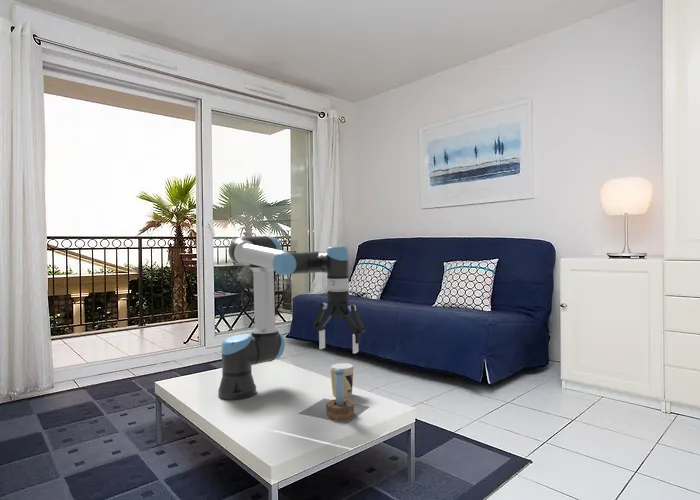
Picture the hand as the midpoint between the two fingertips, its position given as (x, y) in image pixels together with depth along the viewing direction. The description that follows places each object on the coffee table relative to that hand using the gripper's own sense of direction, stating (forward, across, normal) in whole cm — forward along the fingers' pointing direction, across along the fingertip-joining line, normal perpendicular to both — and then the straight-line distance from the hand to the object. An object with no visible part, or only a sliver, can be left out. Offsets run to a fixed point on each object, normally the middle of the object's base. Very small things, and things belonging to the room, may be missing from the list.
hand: (338, 350), depth 154 cm
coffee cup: (+24, -10, +19) cm, 32 cm away
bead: (+23, 0, 0) cm, 23 cm away
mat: (+23, -4, +3) cm, 24 cm away
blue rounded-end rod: (+23, 0, 0) cm, 23 cm away
